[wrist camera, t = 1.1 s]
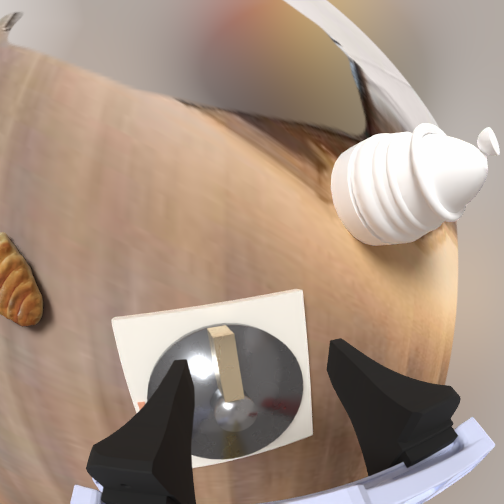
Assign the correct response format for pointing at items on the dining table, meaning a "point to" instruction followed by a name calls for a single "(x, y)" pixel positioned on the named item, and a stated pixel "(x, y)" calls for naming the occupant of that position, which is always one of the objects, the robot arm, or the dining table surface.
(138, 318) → the base
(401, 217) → the honey pot
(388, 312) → the dining table surface
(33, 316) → the pastry
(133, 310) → the dining table surface
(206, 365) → the handwheel
